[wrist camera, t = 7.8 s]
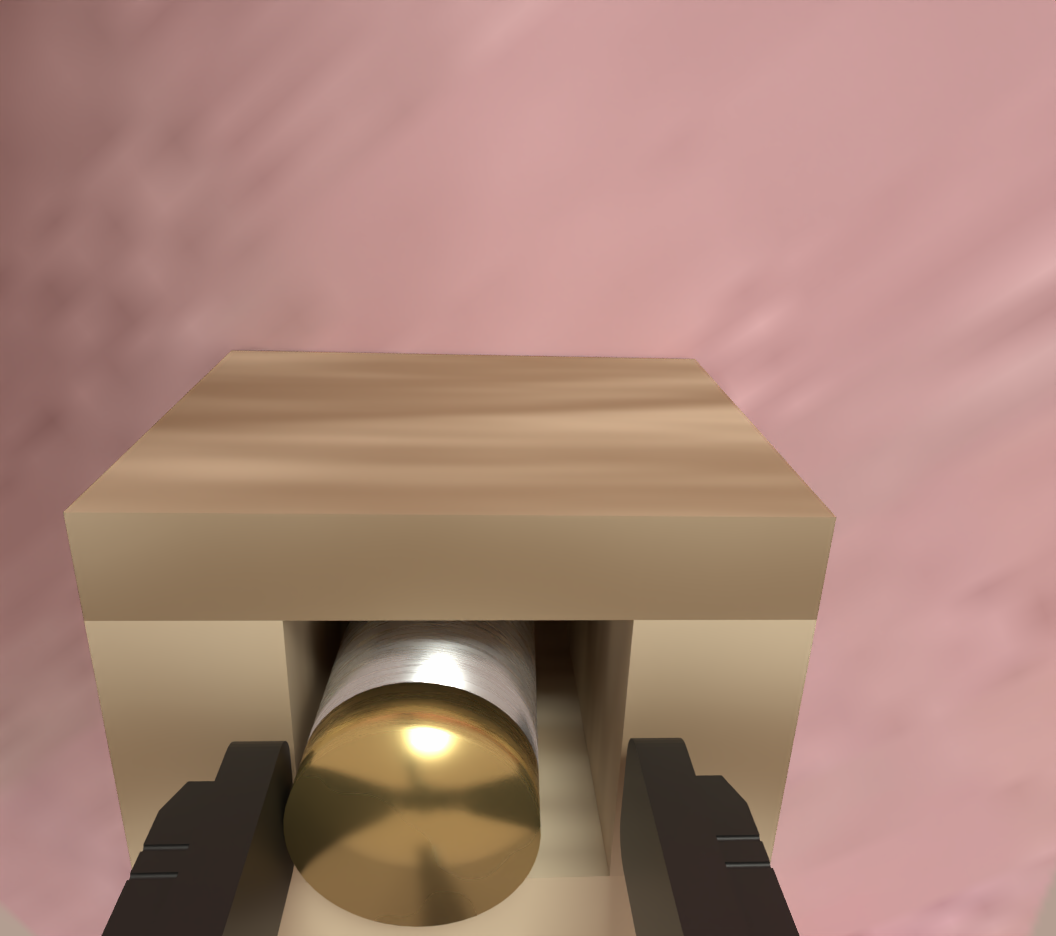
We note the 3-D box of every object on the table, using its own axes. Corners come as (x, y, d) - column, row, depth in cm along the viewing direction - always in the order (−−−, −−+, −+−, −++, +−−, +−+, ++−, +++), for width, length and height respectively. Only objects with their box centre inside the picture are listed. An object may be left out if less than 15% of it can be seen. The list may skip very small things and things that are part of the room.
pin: (384, 451, 19) (273, 727, 11) (534, 456, 19) (546, 733, 11) (388, 581, 21) (292, 925, 12) (528, 585, 21) (536, 928, 12)
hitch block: (231, 350, 18) (-3, 575, 9) (694, 359, 19) (889, 577, 10) (287, 899, 24) (177, 1351, 15) (635, 892, 25) (722, 1321, 16)
